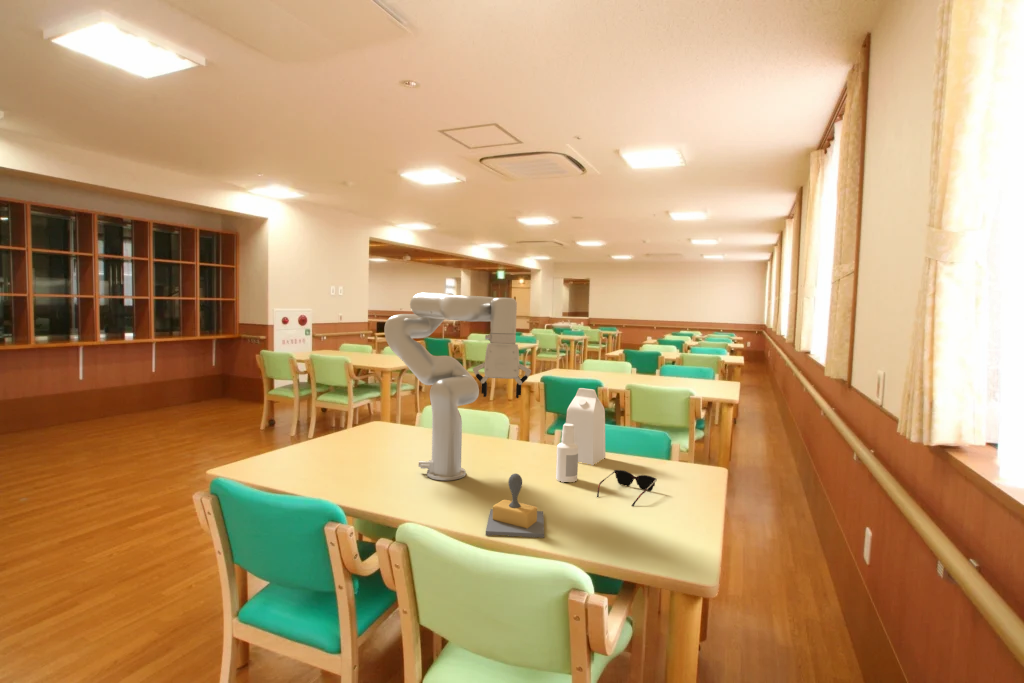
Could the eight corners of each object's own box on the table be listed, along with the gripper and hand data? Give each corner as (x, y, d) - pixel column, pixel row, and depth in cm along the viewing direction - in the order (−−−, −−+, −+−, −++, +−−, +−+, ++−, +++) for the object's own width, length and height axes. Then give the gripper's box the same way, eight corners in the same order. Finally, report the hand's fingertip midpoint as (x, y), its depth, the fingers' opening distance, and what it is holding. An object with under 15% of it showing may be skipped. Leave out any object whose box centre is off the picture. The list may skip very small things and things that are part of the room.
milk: (605, 458, 195) (608, 388, 193) (592, 465, 185) (595, 392, 183) (576, 452, 201) (578, 385, 199) (562, 459, 191) (564, 389, 190)
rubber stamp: (491, 519, 132) (493, 473, 131) (503, 512, 137) (504, 467, 136) (526, 528, 127) (527, 480, 126) (537, 521, 132) (538, 474, 131)
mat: (485, 535, 125) (485, 531, 125) (490, 512, 139) (490, 509, 139) (543, 537, 125) (544, 533, 125) (543, 514, 139) (543, 511, 139)
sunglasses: (656, 493, 159) (657, 477, 159) (637, 512, 146) (637, 495, 145) (614, 483, 167) (614, 468, 166) (592, 501, 154) (592, 484, 153)
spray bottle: (576, 484, 164) (578, 427, 163) (554, 482, 166) (556, 426, 165) (578, 477, 171) (579, 423, 170) (557, 475, 172) (558, 421, 171)
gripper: (472, 339, 151) (470, 397, 152) (532, 341, 150) (530, 400, 151) (475, 337, 158) (473, 393, 160) (532, 339, 158) (530, 395, 159)
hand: (501, 396), depth 155 cm, fingers open, 9 cm apart
